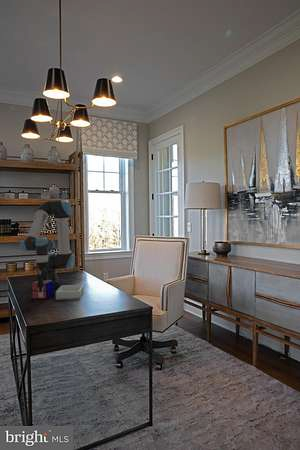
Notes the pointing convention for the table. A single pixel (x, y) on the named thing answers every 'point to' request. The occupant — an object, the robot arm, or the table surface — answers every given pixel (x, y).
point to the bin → (69, 292)
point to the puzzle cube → (47, 289)
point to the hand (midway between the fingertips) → (43, 294)
